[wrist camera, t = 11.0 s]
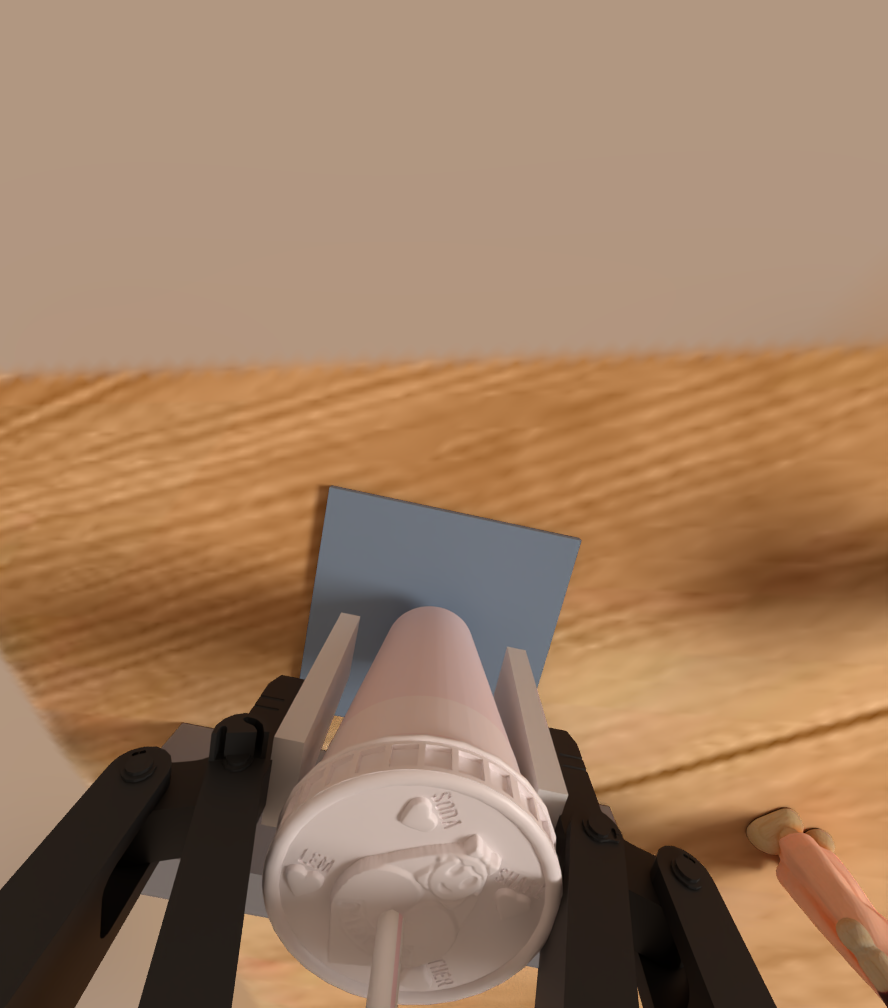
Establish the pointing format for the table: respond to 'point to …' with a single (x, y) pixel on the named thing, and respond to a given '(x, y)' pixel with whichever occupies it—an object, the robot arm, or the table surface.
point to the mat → (435, 579)
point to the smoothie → (415, 834)
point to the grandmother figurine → (826, 893)
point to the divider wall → (196, 746)
